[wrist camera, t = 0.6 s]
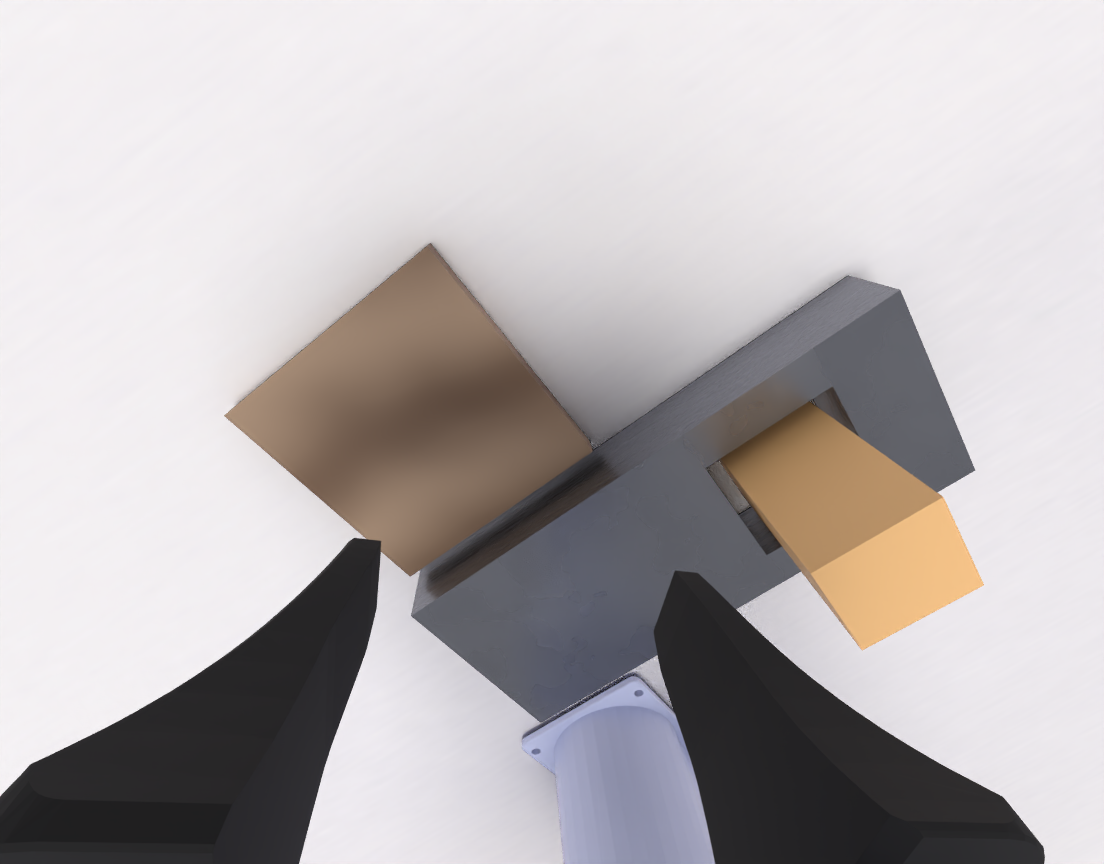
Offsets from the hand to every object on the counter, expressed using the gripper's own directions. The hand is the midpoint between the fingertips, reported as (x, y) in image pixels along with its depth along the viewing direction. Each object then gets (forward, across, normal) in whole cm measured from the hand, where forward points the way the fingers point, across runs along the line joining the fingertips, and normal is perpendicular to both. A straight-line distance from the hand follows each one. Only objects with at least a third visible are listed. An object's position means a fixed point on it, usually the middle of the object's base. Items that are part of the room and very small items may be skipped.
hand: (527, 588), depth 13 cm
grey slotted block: (+10, -8, +3) cm, 13 cm away
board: (+10, +4, +1) cm, 11 cm away
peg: (+10, -11, -1) cm, 15 cm away
